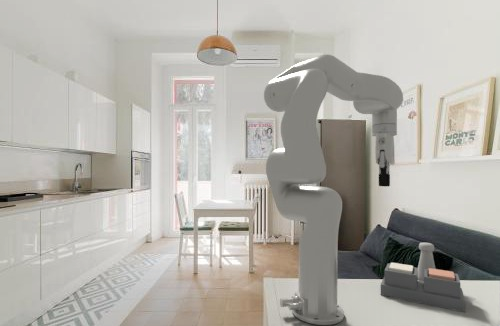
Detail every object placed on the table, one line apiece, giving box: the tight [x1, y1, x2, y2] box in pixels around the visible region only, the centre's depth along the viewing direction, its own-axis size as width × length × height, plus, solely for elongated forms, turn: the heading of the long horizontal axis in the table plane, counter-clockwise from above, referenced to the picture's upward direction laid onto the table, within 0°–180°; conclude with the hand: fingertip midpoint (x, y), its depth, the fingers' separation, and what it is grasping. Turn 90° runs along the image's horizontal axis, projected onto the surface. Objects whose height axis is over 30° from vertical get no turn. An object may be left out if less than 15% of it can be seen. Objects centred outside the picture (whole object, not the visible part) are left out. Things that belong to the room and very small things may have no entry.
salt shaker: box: [417, 242, 436, 281], centre depth 97 cm, size 6×6×13 cm
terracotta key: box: [429, 268, 455, 281], centre depth 84 cm, size 6×6×4 cm
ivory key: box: [389, 262, 414, 274], centre depth 89 cm, size 6×6×4 cm
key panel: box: [380, 262, 466, 313], centre depth 86 cm, size 20×10×7 cm, turn 59°
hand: (384, 186), depth 99 cm, fingers closed
